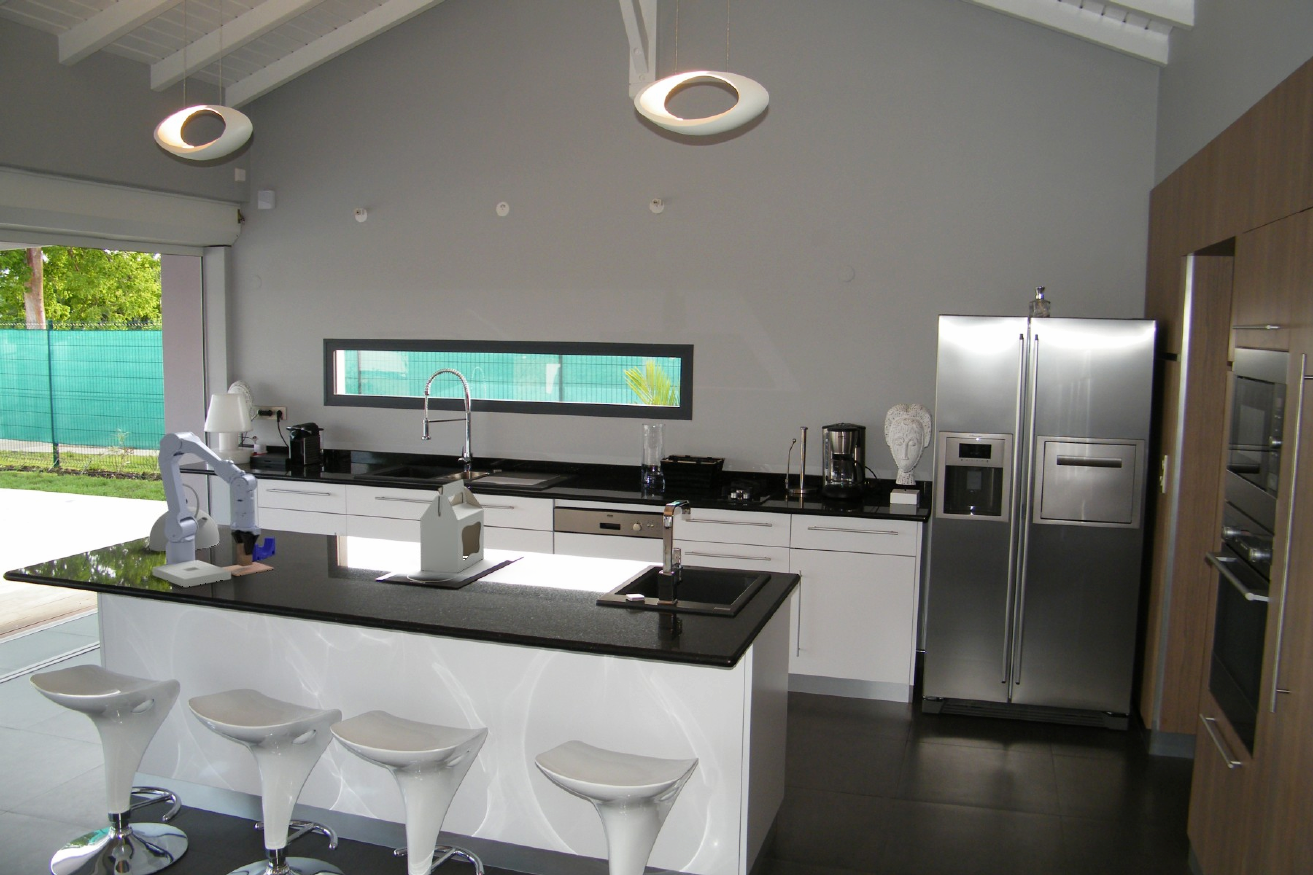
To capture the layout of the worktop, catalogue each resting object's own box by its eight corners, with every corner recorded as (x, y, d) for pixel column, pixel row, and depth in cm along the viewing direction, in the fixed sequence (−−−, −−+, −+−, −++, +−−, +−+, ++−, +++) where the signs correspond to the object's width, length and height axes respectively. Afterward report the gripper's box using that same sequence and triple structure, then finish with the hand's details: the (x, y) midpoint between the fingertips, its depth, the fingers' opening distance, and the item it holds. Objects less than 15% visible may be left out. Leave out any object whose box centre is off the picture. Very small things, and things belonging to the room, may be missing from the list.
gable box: (448, 556, 325) (448, 476, 322) (484, 558, 322) (484, 478, 319) (420, 570, 303) (419, 485, 300) (457, 573, 300) (457, 487, 298)
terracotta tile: (219, 569, 299) (218, 567, 299) (254, 563, 309) (254, 561, 308) (237, 576, 292) (237, 574, 292) (273, 569, 301) (273, 567, 301)
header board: (152, 575, 291) (152, 567, 291) (198, 567, 302) (197, 559, 302) (184, 587, 277) (184, 579, 277) (231, 578, 288) (230, 570, 288)
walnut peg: (237, 564, 299) (237, 543, 299) (246, 563, 302) (246, 542, 301) (243, 566, 297) (242, 544, 297) (252, 564, 300) (252, 543, 299)
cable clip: (263, 553, 324) (262, 536, 323) (275, 554, 323) (275, 537, 323) (243, 561, 312) (243, 544, 311) (256, 562, 311) (255, 544, 311)
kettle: (236, 544, 337) (235, 483, 335) (176, 555, 318) (174, 490, 316) (196, 536, 350) (194, 477, 348) (136, 546, 331) (133, 484, 329)
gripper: (220, 511, 299) (221, 552, 301) (245, 516, 291) (246, 559, 292) (241, 508, 305) (242, 549, 306) (266, 513, 297) (267, 555, 298)
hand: (245, 553), depth 300 cm, fingers closed on walnut peg, 3 cm apart
